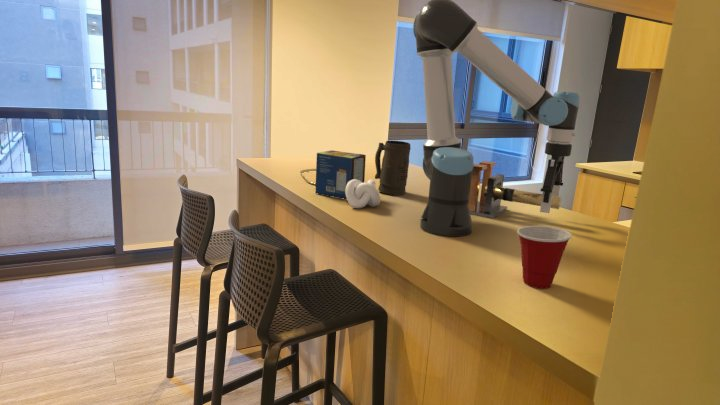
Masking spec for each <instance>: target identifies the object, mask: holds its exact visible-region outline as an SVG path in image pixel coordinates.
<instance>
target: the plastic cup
mask: <svg viewBox="0 0 720 405" xmlns="http://www.w3.org/2000/svg"><path fill="white" fill-rule="evenodd" d="M516 233H517V234H518V237H519V241H520V248H521V249H520V250H521V255H520V256H521V266H522V282H523V283H524V284H525V285H527V286H528V287H529V286H530V287H532V288H536V289H541V290H543V289H549V288H551V286H552V285H553V282H554V279H555V276H556V274H557V272H558V269H559V266H560V263H561V260H562V257H563V254H564V252H565V250H566V247H567V245H568V242H569V240H570V239H572V238H571V237H572V233H571V232H569V231H568V230H565V229H562V228H559V227H553V226H546V225H545V226H544V225H528V226H523V227H520V228H517V230H516Z"/></svg>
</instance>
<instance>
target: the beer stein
mask: <svg viewBox="0 0 720 405" xmlns="http://www.w3.org/2000/svg"><path fill="white" fill-rule="evenodd" d="M384 143H385V144H384ZM411 149H412V148H411V143H409V142H406V141H402V140H386V141H385V142H379V143H378V147H377V149H376V152H375V156H374V158H375V159H374V163H375V169H376V173H375V175H374V179H375V180H379V185H378V188H377V191H378V192H380V193H383V194H385V195H390V196H402V195H405V194H406V186H407V182H408V175H409V174H408V173H409V165H410V154H411ZM383 151H384V152H383ZM382 152H383V156H382ZM381 156H382V160H381ZM381 161H382V162H381Z"/></svg>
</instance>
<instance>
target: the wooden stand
mask: <svg viewBox="0 0 720 405" xmlns="http://www.w3.org/2000/svg"><path fill="white" fill-rule="evenodd" d="M495 166H496V161H488V160H482V161H481V162H480V161H479V163H474V167H473V171H472V179H471V188H470V196H469V211H470V215H474V216H478V217H484V218H489V219H493V218H494V219H495V218H497V217H499V214H500V215H501V214H503V213H504V212H505V211H507V210H508V206H505V205H501V202H502V200H501V199H495V198H494V194H495V187H501V188H504V180H505V174H502V173H501V174H500V173H497V174H496V175H493V167H495ZM482 171H483V172H482ZM481 175H482V179H481ZM492 175H493V176H492ZM481 180H482V181H481ZM480 185H481V190H480ZM486 185H487V193H486V197H484V190H485V187H486ZM479 193H480V198H479ZM506 209H507V210H506ZM503 211H504V212H503Z"/></svg>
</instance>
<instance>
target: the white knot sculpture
mask: <svg viewBox="0 0 720 405" xmlns="http://www.w3.org/2000/svg"><path fill="white" fill-rule="evenodd" d="M355 188H356V189H355ZM354 189H355V192H354ZM379 192H380V191H379V190H378V188H377V187H376V182H375V180H374V179H372V178H371V179H367V181H364V183H362V182H361V181H359V180H356V179H353V180H351V181H349V182H348V183H347V185H346V190H345V193H346V198H347V200H346V201H347V202H348V204H349V205H350V206H351V207H353V208H355V209H363V208H366V206H367V205H368V206H369V207H373V208H374V207H377V206H379V204H380V202H381V196H380V195H381V194H380V193H379Z"/></svg>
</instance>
